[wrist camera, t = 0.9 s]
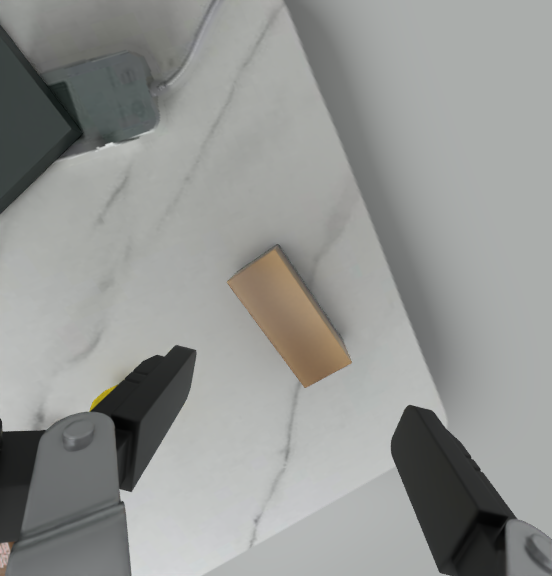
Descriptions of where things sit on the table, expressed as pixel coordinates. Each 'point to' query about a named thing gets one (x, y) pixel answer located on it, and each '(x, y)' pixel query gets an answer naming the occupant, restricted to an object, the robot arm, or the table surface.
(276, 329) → the eraser
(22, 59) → the board
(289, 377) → the table surface
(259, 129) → the table surface
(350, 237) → the table surface
